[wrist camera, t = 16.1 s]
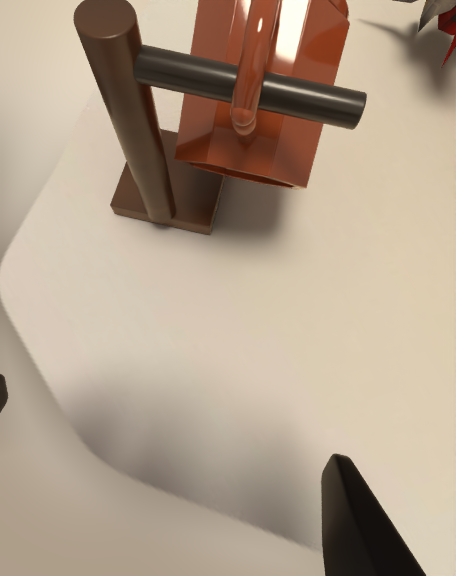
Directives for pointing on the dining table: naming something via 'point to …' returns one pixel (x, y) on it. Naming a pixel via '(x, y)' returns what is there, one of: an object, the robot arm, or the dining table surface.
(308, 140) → the mug
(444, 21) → the toy spacecraft
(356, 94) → the mug rack
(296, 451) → the dining table surface
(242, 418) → the dining table surface
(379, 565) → the robot arm
